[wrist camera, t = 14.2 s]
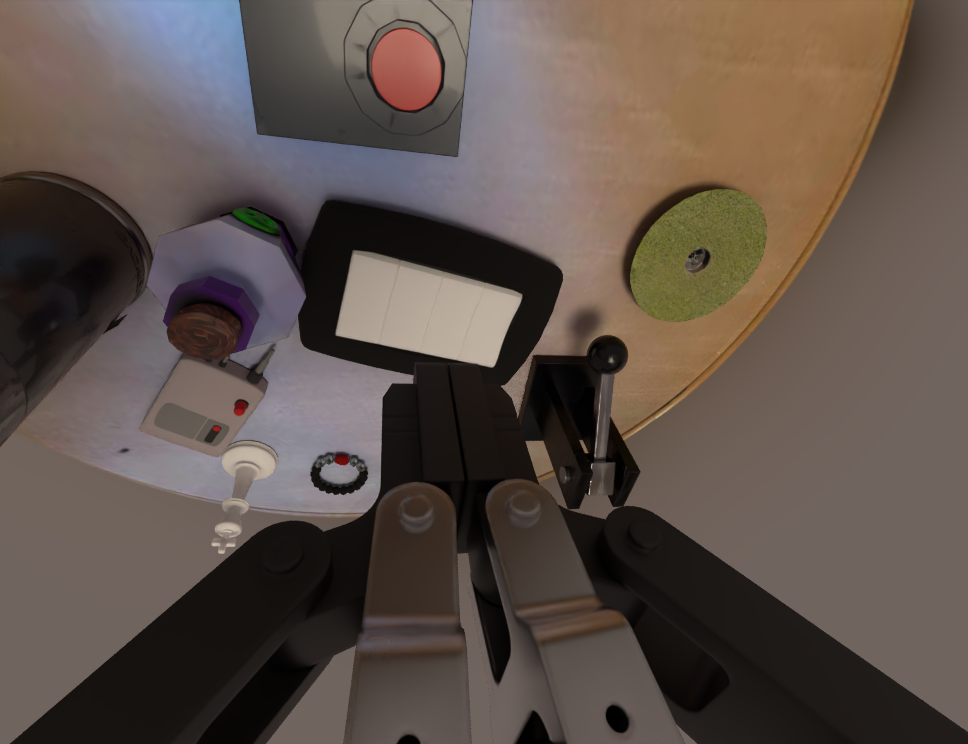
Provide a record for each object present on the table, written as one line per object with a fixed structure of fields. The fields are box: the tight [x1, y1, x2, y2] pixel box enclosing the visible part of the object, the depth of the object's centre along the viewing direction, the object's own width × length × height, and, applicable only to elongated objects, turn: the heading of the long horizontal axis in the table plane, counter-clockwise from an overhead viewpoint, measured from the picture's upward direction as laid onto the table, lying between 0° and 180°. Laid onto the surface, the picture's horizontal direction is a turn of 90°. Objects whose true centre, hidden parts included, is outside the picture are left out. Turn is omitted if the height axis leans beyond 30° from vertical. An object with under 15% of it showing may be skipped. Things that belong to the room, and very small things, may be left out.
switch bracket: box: [518, 355, 640, 509], centre depth 42 cm, size 10×8×12 cm
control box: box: [239, 0, 473, 157], centre depth 26 cm, size 12×9×4 cm
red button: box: [371, 28, 441, 111], centre depth 25 cm, size 4×4×2 cm
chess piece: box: [212, 441, 278, 553], centre depth 41 cm, size 5×5×10 cm
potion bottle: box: [147, 207, 306, 360], centre depth 28 cm, size 9×9×12 cm
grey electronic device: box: [139, 349, 275, 457], centre depth 39 cm, size 7×16×3 cm, turn 139°
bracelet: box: [311, 455, 368, 495], centre depth 47 cm, size 6×6×1 cm
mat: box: [630, 189, 767, 322], centre depth 38 cm, size 11×11×2 cm
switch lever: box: [585, 335, 628, 496], centre depth 38 cm, size 13×3×3 cm, turn 172°
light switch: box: [298, 200, 563, 386], centre depth 37 cm, size 20×3×14 cm
